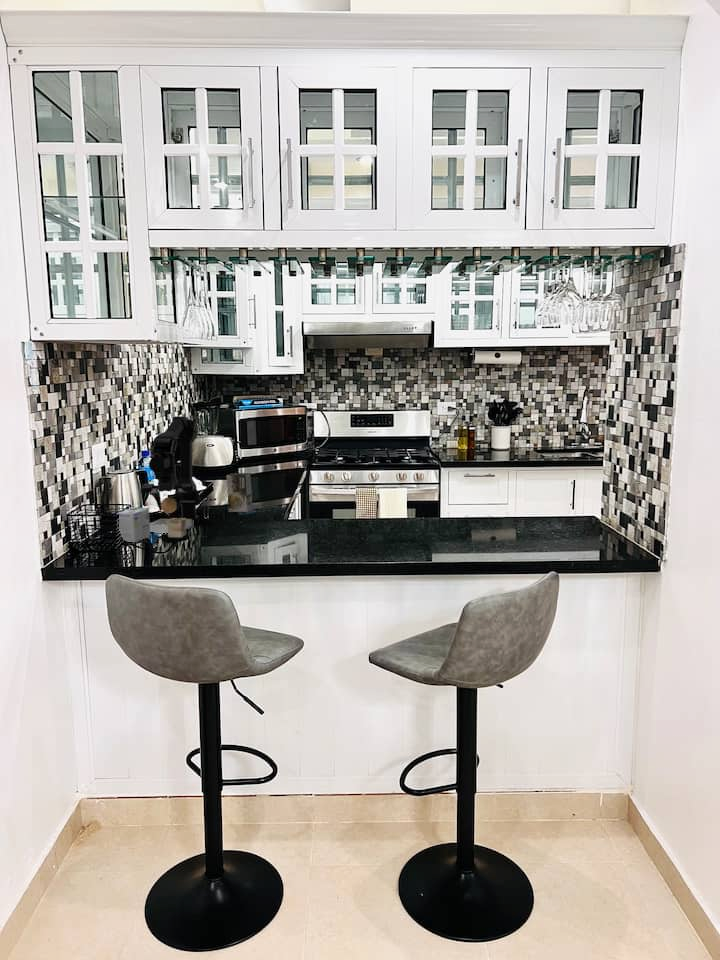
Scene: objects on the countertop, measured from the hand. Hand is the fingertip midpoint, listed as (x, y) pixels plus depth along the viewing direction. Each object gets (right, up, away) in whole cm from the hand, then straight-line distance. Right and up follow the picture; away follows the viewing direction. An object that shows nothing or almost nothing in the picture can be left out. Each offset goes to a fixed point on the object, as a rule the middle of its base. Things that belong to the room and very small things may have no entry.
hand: (169, 510), depth 268 cm
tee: (+6, -9, -10) cm, 15 cm away
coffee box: (+20, -2, +39) cm, 44 cm away
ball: (0, +2, 0) cm, 2 cm away
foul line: (-1, -8, -6) cm, 10 cm away
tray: (0, -7, +1) cm, 8 cm away
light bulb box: (-8, -10, -15) cm, 20 cm away
